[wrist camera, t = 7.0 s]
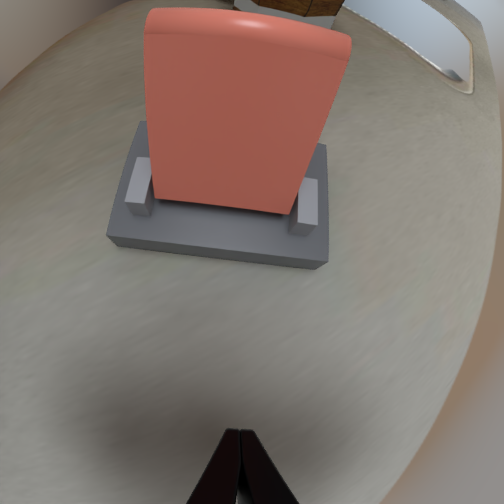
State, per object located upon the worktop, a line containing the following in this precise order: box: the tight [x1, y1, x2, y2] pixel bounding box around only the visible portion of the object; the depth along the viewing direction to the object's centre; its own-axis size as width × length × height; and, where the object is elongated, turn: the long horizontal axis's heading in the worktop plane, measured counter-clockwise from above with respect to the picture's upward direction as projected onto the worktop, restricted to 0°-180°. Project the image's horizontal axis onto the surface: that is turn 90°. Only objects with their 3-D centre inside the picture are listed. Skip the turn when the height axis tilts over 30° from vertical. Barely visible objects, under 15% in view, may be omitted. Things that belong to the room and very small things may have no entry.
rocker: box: [144, 8, 351, 215], centre depth 13 cm, size 2×8×11 cm, turn 86°
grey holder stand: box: [106, 121, 329, 270], centre depth 19 cm, size 9×14×4 cm, turn 85°
